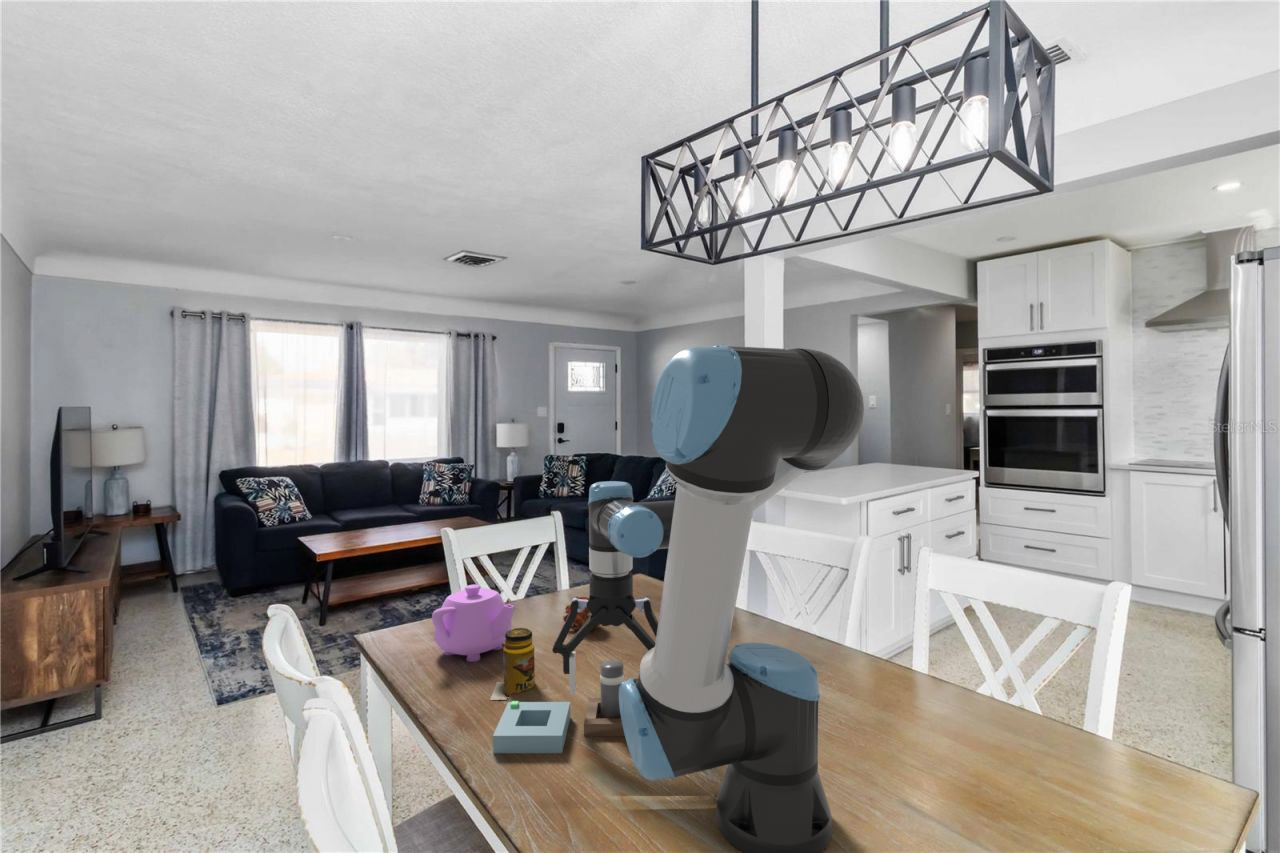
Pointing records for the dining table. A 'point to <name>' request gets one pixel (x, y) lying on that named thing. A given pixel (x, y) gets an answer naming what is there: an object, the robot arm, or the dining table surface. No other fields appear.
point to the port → (532, 727)
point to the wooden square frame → (600, 721)
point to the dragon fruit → (579, 616)
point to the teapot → (472, 622)
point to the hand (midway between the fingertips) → (611, 691)
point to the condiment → (516, 664)
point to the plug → (610, 688)
